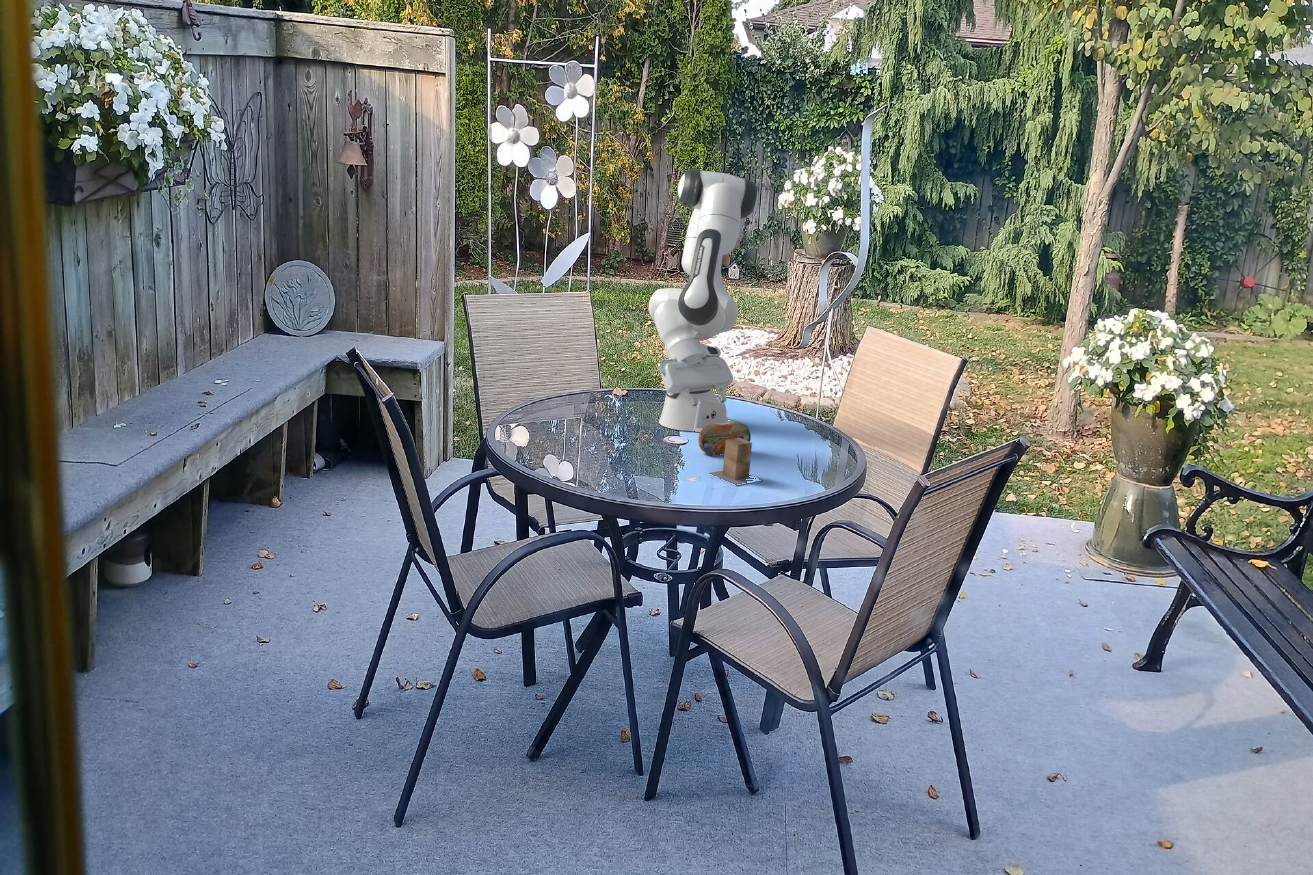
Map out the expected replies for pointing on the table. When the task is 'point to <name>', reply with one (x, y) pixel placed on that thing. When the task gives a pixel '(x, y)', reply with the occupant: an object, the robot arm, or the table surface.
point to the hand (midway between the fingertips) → (709, 403)
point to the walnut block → (737, 458)
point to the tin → (721, 436)
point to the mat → (721, 476)
